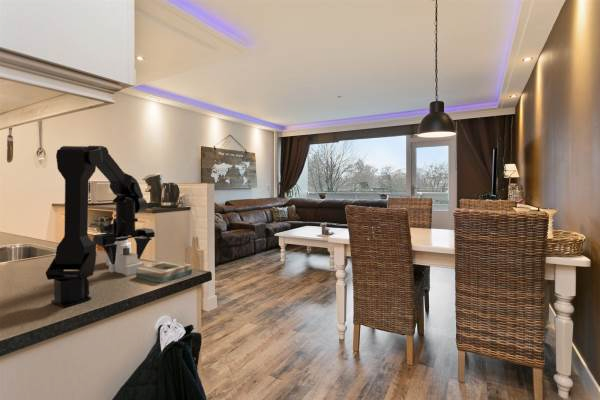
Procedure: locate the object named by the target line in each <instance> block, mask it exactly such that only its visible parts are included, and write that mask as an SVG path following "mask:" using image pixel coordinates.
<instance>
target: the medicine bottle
mask: <svg viewBox="0 0 600 400" xmlns="http://www.w3.org/2000/svg"><path fill="white" fill-rule="evenodd" d="M113 235H115V234H113ZM122 237H123V236H122ZM114 244H117V249H116V254H120V253H123V248H130V253H132V243H131V241H129V238H128V239H121V240H116V242H115V243H114ZM109 263H111V262H110V259H109V257H108V255H107V253H106V252H105V265H106V266H108V267H109Z"/></svg>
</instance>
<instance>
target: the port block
mask: <svg viewBox="0 0 600 400" xmlns="http://www.w3.org/2000/svg"><path fill="white" fill-rule="evenodd" d="M191 273H193V264H191V263H190V264H189V263H184V262H179V261H178V262H177V261H173V260H169V259H168V260H162V261H158V262H155V263H151V264H150V263H149V264H147V265H144V266H142V267H138V268H136V274H135V276H136V278H137V279H142V280H147V281H150V282H156V283H159V282H160V283H159V284H164V283H167V282H170V281H173V280H172V279H174V280H176V278H177V279H179V277H180V278H183V277H185V275H186V276H188V274H189V275H192V274H191ZM182 276H183V277H182ZM169 280H170V281H169ZM166 281H167V282H166ZM163 282H164V283H163Z"/></svg>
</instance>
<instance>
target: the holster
mask: <svg viewBox="0 0 600 400" xmlns="http://www.w3.org/2000/svg"><path fill="white" fill-rule="evenodd" d="M142 266H145V263H144V262H137V263H136V264H132V265H128V266H124V271H125V274H124V276H126V277H128V276H132V275H136V268H138V267H142ZM114 272H115V264H111V263H109V266H108V273H114ZM115 273H116V272H115Z"/></svg>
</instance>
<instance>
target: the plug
mask: <svg viewBox="0 0 600 400" xmlns="http://www.w3.org/2000/svg"><path fill="white" fill-rule="evenodd" d="M136 263H138V259H137V254H136V253H133V252H131V253H130V248H123V253H120V254H116V260H115V273H118V274H122V275H125V271H124V266H128V265H132V264H136Z"/></svg>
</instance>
